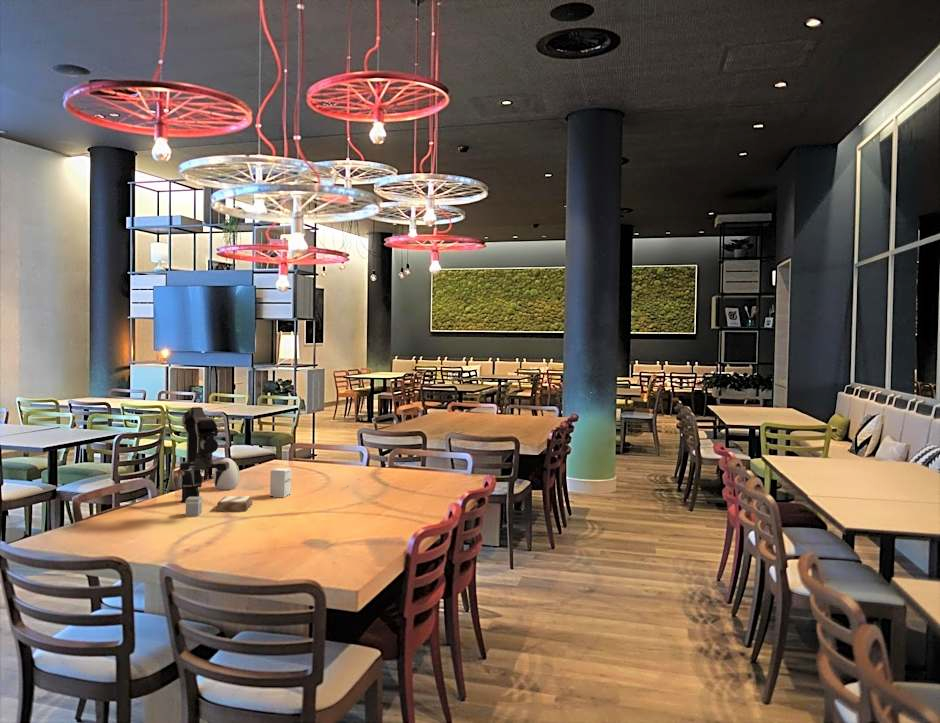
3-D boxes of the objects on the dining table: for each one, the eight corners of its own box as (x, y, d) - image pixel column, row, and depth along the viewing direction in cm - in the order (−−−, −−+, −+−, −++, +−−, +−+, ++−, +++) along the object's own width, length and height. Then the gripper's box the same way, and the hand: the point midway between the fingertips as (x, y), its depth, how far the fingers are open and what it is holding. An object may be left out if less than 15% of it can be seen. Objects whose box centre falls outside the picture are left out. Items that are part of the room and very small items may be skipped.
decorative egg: (244, 487, 348) (245, 457, 347) (225, 492, 337) (226, 461, 336) (227, 484, 353) (227, 455, 353) (207, 489, 342) (208, 458, 342)
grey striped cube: (185, 516, 289) (185, 499, 289) (189, 513, 294) (189, 496, 294) (198, 516, 290) (198, 499, 290) (201, 513, 295) (202, 496, 295)
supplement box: (284, 497, 327) (284, 470, 327) (269, 496, 329) (270, 470, 328) (291, 494, 334) (291, 468, 334) (277, 493, 336) (277, 467, 336)
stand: (217, 511, 299) (217, 501, 299) (224, 504, 311) (224, 495, 311) (246, 511, 300) (246, 501, 300) (252, 504, 312) (252, 495, 312)
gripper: (175, 452, 283) (175, 490, 283) (223, 452, 285) (222, 490, 285) (184, 447, 294) (183, 484, 295) (229, 448, 296) (229, 485, 296)
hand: (204, 486), depth 292 cm, fingers open, 9 cm apart
